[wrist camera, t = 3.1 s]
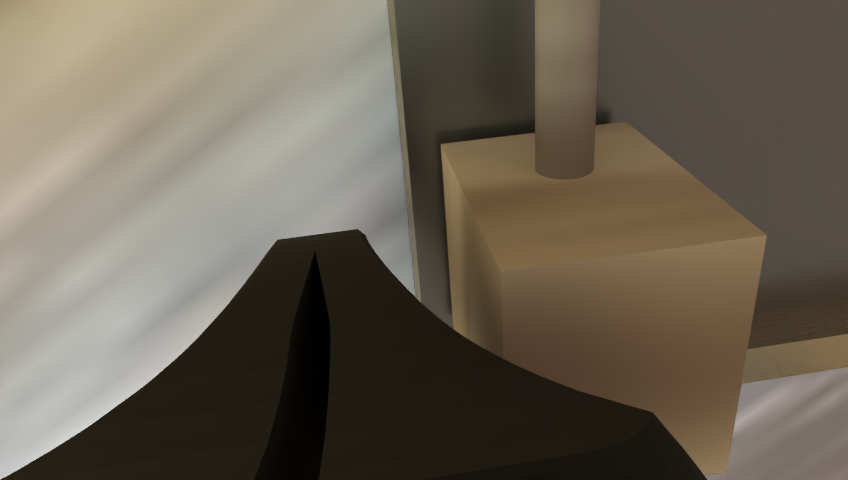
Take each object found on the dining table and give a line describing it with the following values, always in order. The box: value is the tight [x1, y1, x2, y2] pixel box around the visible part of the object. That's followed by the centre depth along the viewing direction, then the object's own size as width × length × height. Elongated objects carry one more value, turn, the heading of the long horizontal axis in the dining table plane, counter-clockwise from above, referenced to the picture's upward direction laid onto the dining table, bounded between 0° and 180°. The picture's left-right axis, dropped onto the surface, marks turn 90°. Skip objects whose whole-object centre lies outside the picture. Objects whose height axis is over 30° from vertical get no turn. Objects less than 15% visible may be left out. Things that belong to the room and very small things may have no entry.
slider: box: [441, 0, 767, 476], centre depth 9 cm, size 10×3×4 cm, turn 4°
